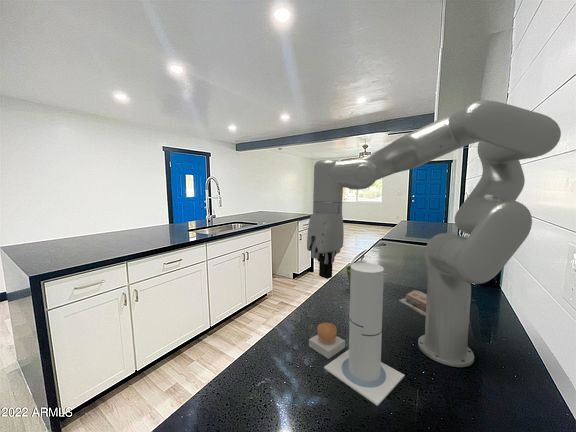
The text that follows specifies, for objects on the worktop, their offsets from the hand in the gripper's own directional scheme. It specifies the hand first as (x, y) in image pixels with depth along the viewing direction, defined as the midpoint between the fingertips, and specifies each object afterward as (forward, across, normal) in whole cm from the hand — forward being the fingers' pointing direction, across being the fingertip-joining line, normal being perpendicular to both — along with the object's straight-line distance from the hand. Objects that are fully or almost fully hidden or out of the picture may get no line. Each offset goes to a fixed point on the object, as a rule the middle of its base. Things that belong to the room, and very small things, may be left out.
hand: (325, 276), depth 66 cm
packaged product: (+20, -44, +11) cm, 50 cm away
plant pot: (+20, -37, -12) cm, 43 cm away
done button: (+16, -1, +1) cm, 16 cm away
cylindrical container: (+19, 0, +13) cm, 23 cm away
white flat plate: (+20, 0, +13) cm, 23 cm away
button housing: (+20, -1, +1) cm, 20 cm away
